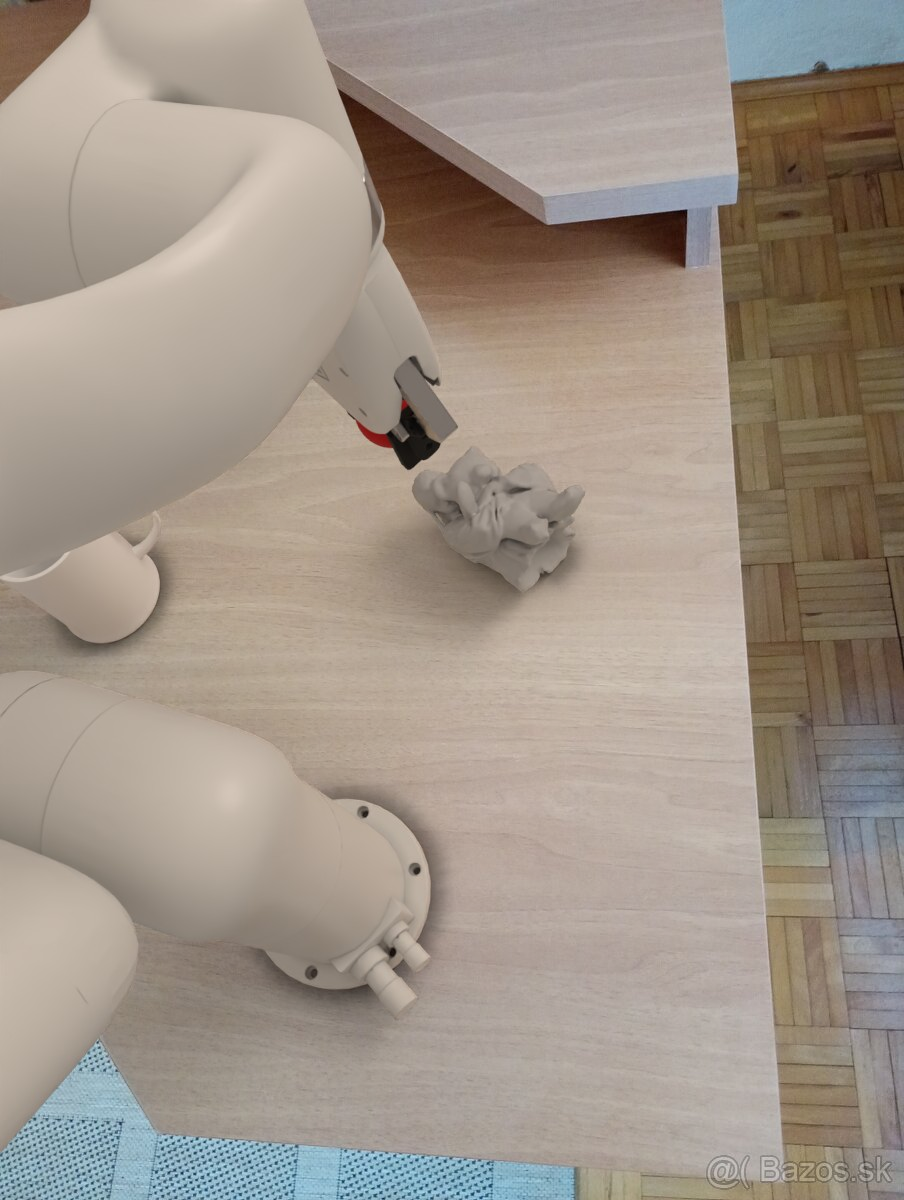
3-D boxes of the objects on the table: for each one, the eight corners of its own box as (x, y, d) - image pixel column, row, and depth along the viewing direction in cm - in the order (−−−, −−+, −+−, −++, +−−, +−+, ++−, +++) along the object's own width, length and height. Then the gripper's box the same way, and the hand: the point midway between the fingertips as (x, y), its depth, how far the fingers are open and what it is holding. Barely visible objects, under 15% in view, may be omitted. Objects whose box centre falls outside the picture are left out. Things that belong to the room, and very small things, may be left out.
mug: (181, 513, 88) (110, 439, 78) (209, 598, 85) (139, 533, 74) (53, 573, 89) (-36, 507, 78) (75, 661, 85) (-14, 605, 74)
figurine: (560, 530, 70) (436, 410, 73) (492, 623, 77) (381, 510, 79) (623, 493, 76) (506, 384, 79) (556, 583, 83) (450, 479, 85)
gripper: (130, 177, 50) (269, 388, 67) (348, 377, 44) (443, 556, 60) (250, 79, 51) (358, 311, 68) (482, 260, 44) (539, 469, 61)
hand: (397, 425), depth 64 cm, fingers closed on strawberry, 4 cm apart
